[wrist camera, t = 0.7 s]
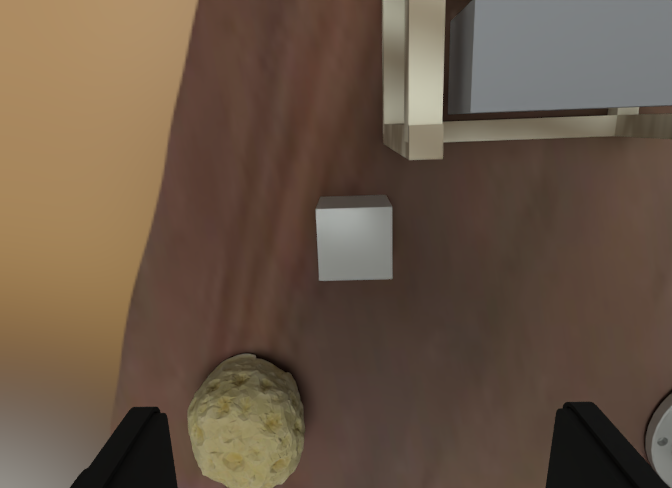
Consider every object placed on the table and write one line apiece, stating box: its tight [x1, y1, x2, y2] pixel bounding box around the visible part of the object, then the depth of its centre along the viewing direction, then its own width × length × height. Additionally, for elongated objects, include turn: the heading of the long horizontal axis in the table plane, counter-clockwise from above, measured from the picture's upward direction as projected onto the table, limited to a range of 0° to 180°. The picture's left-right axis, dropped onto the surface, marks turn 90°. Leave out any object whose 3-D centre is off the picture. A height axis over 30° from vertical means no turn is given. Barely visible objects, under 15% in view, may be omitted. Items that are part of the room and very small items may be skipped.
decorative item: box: [187, 354, 305, 488], centre depth 36 cm, size 10×10×10 cm
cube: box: [316, 195, 392, 281], centre depth 32 cm, size 5×5×5 cm
